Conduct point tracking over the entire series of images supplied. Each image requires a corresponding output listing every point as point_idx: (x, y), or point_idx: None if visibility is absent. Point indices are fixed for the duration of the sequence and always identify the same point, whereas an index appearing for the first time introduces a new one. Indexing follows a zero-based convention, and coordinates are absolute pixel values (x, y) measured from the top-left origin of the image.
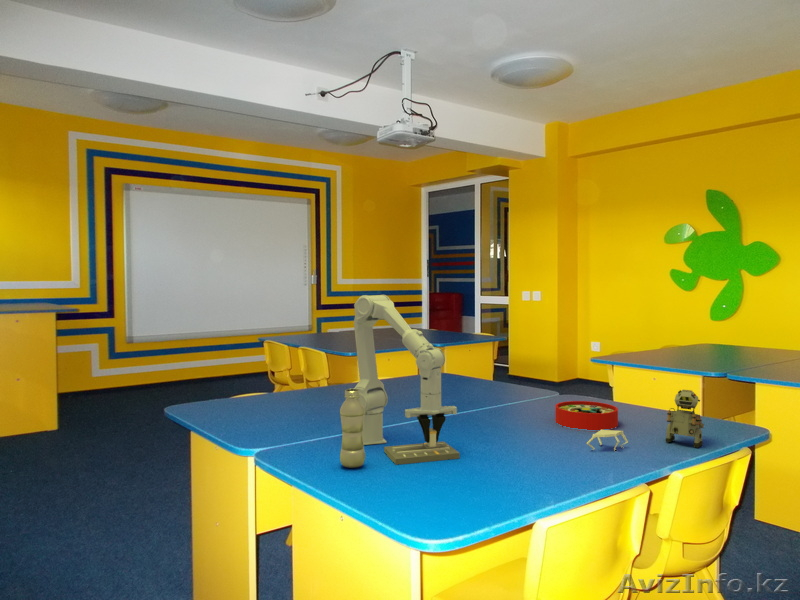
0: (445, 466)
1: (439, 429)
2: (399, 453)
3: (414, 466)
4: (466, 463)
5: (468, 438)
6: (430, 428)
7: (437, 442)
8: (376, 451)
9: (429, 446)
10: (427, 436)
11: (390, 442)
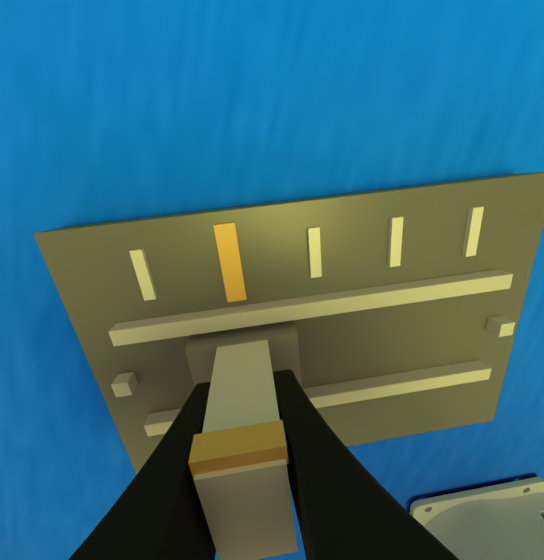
0: (198, 44)
1: (134, 500)
2: (490, 274)
3: (420, 109)
4: (6, 86)
5: (2, 553)
6: (248, 551)
7: None
8: None
9: (269, 348)
10: (303, 402)
11: None
